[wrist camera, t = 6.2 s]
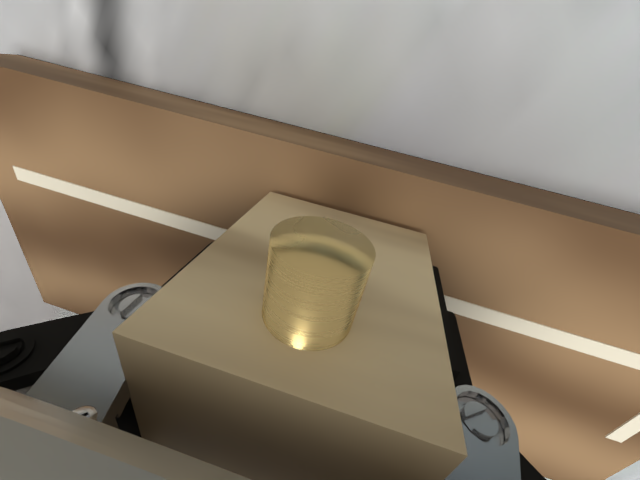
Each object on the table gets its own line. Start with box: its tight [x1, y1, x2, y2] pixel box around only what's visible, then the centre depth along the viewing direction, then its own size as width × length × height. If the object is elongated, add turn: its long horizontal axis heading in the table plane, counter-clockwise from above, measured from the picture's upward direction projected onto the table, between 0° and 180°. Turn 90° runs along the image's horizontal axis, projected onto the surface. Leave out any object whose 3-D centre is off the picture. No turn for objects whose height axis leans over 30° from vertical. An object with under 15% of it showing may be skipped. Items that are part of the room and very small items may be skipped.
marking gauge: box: [112, 192, 468, 480], centre depth 8 cm, size 8×5×6 cm, turn 169°
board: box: [0, 54, 640, 480], centre depth 13 cm, size 12×29×3 cm, turn 78°
